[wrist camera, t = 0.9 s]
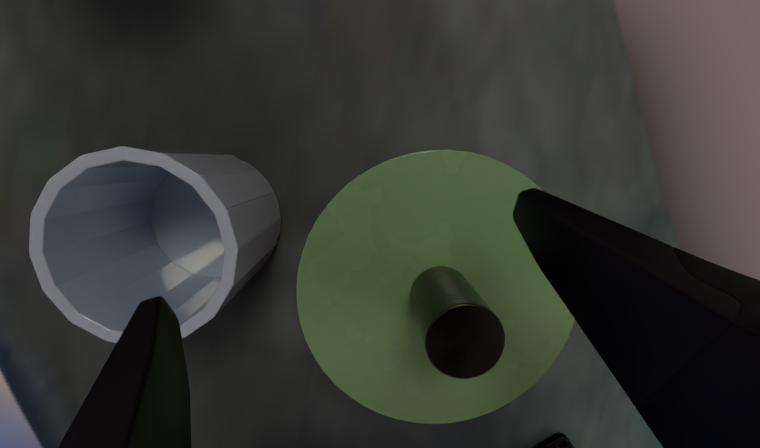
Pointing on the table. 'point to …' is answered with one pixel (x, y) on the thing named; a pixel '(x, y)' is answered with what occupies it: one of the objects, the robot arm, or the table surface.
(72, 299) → the cup
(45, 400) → the table surface
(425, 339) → the lid
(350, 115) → the table surface
